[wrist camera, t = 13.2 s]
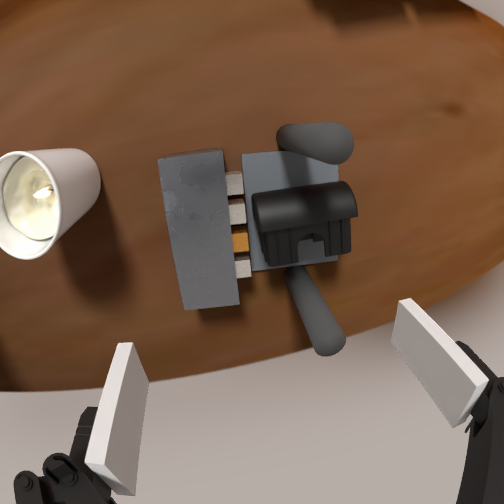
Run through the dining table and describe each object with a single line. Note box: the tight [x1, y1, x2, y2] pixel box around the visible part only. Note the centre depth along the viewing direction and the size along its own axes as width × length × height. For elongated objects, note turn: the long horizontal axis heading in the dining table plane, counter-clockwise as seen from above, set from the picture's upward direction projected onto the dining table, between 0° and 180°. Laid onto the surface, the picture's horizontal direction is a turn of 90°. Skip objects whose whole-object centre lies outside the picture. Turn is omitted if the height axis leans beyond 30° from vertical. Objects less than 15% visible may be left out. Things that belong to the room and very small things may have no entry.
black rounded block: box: [251, 181, 358, 267], centre depth 32 cm, size 10×7×7 cm
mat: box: [241, 151, 338, 271], centre depth 36 cm, size 11×14×1 cm
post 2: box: [284, 265, 346, 356], centre depth 33 cm, size 3×3×14 cm
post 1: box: [276, 122, 354, 165], centre depth 26 cm, size 3×3×14 cm
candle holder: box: [0, 148, 101, 260], centre depth 26 cm, size 10×10×12 cm
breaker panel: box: [158, 147, 251, 310], centre depth 32 cm, size 8×16×6 cm, turn 5°
